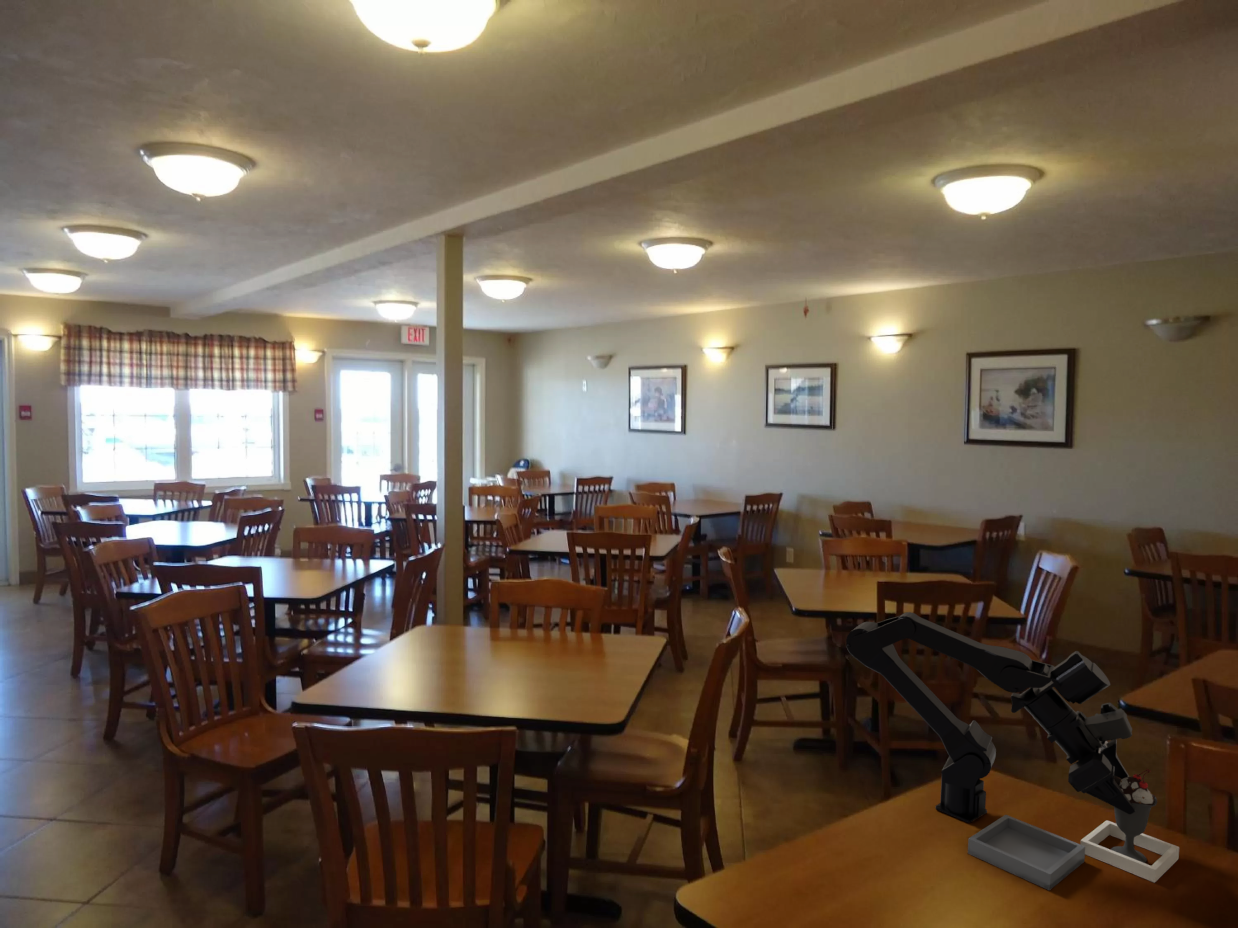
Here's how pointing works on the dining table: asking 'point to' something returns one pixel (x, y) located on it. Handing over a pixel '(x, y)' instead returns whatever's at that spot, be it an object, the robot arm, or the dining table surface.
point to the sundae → (1138, 819)
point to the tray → (1027, 851)
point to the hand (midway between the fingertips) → (1133, 800)
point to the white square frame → (1126, 863)
